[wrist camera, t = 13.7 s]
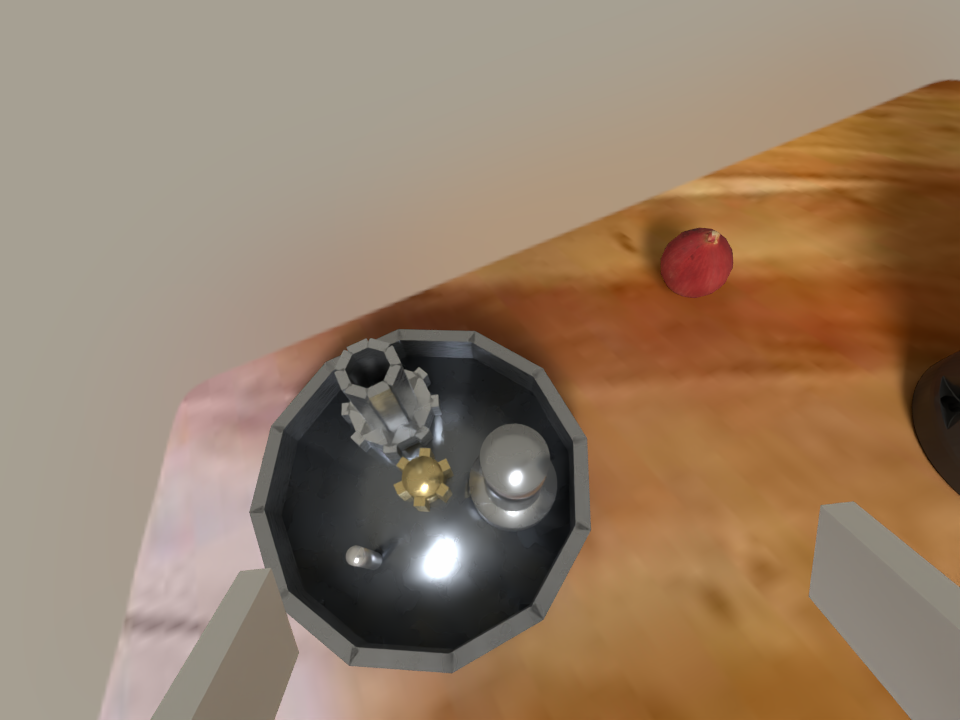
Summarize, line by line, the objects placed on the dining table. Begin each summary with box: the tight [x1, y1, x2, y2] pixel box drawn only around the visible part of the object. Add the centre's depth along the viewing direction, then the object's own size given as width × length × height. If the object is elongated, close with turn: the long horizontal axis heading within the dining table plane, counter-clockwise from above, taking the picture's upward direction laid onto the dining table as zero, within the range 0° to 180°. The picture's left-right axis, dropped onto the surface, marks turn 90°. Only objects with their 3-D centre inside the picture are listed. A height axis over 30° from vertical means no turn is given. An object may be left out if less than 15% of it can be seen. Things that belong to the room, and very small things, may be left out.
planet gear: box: [334, 338, 442, 460], centre depth 36 cm, size 8×8×9 cm
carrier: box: [249, 329, 591, 673], centre depth 34 cm, size 24×24×10 cm
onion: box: [661, 228, 733, 298], centre depth 43 cm, size 6×6×8 cm
